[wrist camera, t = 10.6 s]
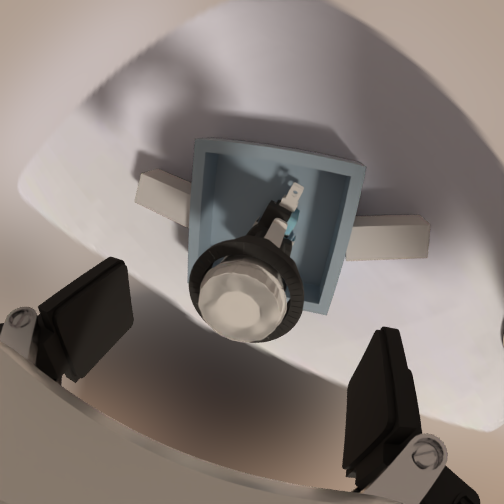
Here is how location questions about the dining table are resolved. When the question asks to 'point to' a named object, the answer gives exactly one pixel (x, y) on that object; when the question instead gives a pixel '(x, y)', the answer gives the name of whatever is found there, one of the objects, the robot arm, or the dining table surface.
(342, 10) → the dining table surface
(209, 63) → the dining table surface
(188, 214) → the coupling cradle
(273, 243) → the push button
